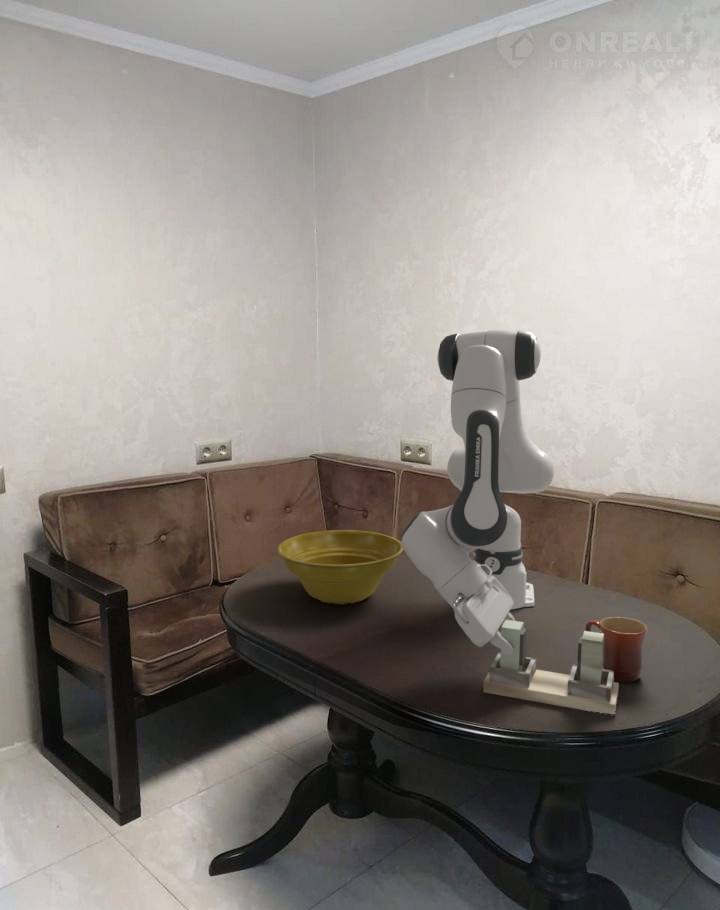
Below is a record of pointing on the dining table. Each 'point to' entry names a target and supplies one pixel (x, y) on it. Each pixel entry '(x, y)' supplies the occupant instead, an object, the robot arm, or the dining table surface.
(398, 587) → the dining table surface
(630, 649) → the mug
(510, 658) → the block
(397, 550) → the planter bowl
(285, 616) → the dining table surface
